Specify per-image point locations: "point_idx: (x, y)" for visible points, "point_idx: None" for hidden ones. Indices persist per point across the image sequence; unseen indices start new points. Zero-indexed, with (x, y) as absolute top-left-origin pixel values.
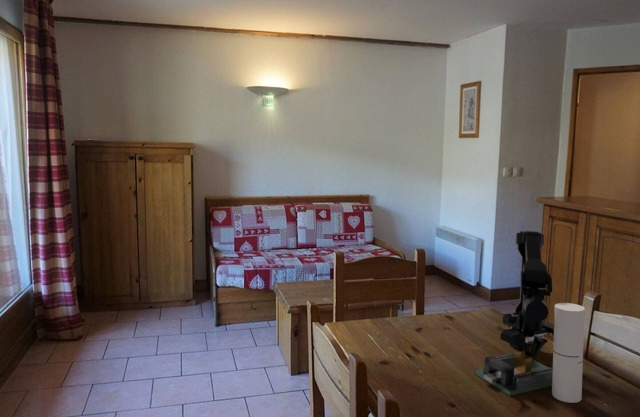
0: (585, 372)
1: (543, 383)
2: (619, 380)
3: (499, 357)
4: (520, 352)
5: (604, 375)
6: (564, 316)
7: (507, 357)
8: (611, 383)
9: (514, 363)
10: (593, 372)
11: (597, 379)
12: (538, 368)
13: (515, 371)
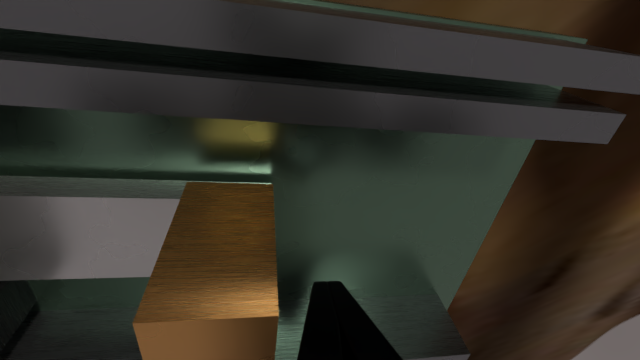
0: (598, 266)
1: None
2: (592, 336)
3: (19, 29)
4: (252, 330)
5: (611, 302)
6: None
7: (173, 97)
8: (544, 343)
9: (178, 214)
10: (619, 275)
11: (549, 315)
12: (428, 199)
13: (137, 245)
